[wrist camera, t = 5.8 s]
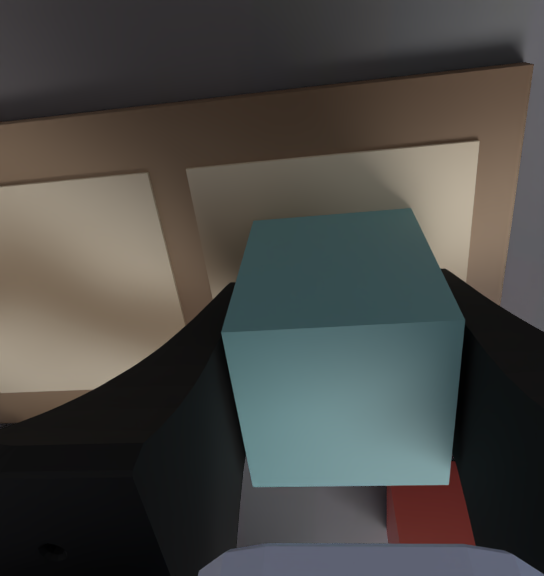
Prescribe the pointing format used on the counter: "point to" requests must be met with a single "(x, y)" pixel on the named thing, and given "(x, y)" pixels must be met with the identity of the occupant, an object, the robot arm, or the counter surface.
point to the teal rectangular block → (344, 352)
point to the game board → (229, 206)
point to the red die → (429, 513)
